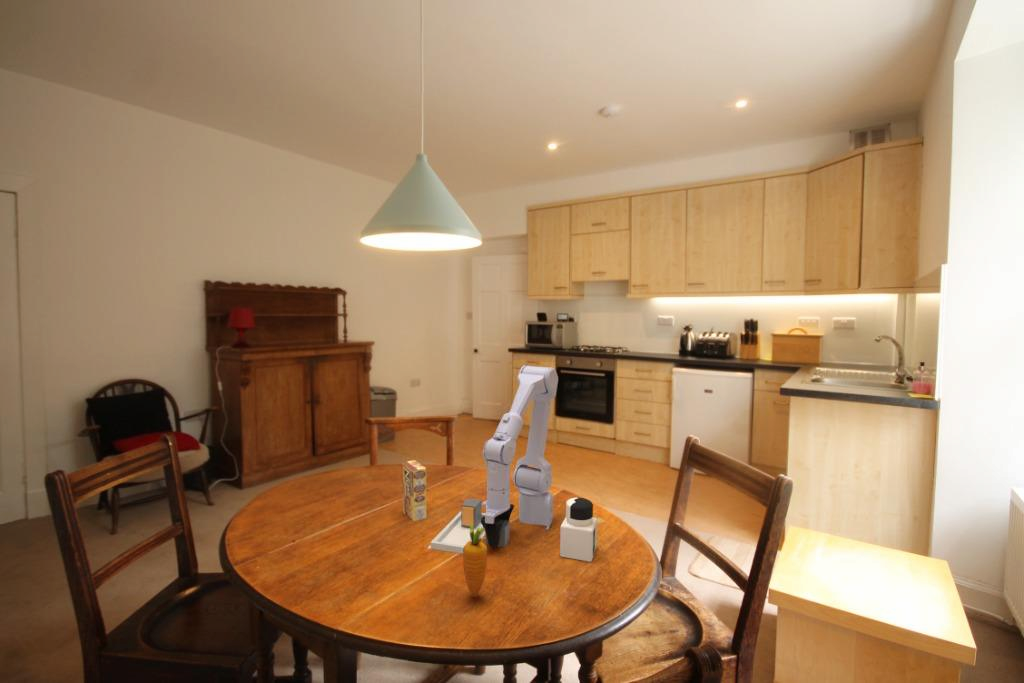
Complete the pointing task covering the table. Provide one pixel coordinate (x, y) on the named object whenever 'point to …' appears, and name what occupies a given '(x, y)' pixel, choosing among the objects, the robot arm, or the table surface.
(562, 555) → the container
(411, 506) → the candy box
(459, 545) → the white tray
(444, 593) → the table surface
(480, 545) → the carrot
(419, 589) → the table surface
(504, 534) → the grey block orange top
